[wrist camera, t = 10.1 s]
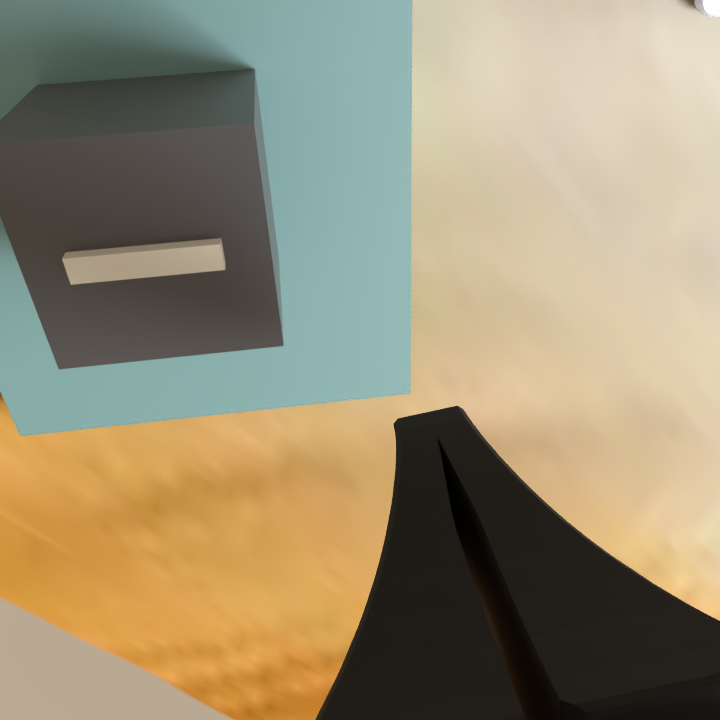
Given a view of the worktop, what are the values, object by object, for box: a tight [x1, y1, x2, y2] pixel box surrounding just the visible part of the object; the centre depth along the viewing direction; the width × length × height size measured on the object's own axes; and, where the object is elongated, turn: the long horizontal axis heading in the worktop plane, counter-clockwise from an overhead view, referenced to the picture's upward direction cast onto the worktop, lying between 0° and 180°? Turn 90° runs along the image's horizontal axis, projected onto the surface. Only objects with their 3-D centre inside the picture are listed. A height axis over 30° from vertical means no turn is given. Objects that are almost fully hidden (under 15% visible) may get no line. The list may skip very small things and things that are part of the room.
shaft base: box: [0, 0, 412, 436], centre depth 17 cm, size 13×16×4 cm
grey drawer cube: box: [0, 69, 284, 369], centre depth 16 cm, size 5×5×5 cm
